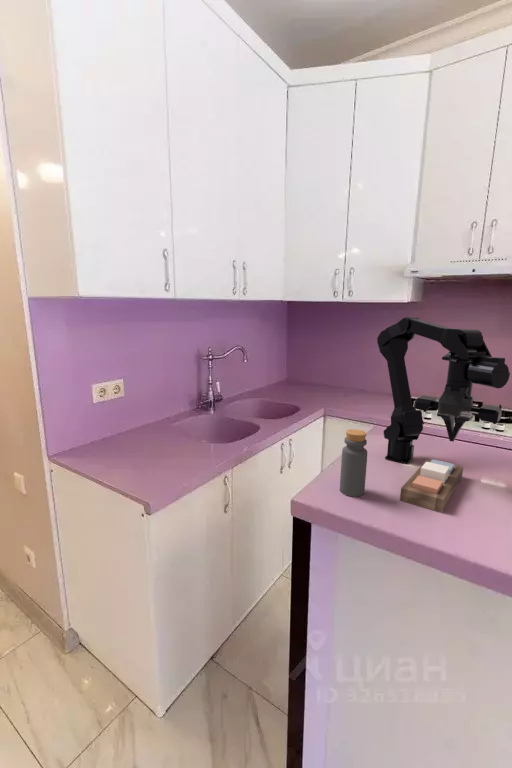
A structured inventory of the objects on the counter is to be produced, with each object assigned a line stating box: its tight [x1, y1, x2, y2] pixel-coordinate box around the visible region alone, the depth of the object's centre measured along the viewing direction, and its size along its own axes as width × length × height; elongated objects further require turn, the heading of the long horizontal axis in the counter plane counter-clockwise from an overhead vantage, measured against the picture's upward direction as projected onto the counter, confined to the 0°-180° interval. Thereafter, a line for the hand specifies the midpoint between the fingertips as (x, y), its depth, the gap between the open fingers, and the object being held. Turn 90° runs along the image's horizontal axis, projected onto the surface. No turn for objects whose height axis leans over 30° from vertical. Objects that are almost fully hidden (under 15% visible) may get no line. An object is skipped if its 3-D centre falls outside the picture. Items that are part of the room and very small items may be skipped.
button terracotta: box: [412, 476, 443, 495], centre depth 89 cm, size 5×5×4 cm
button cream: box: [420, 462, 450, 484], centre depth 94 cm, size 5×5×4 cm
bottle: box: [339, 428, 368, 498], centre depth 91 cm, size 6×6×15 cm
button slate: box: [430, 459, 455, 475], centre depth 100 cm, size 5×5×4 cm
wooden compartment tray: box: [399, 458, 464, 514], centre depth 94 cm, size 9×24×3 cm, turn 143°
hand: (451, 441), depth 96 cm, fingers closed
